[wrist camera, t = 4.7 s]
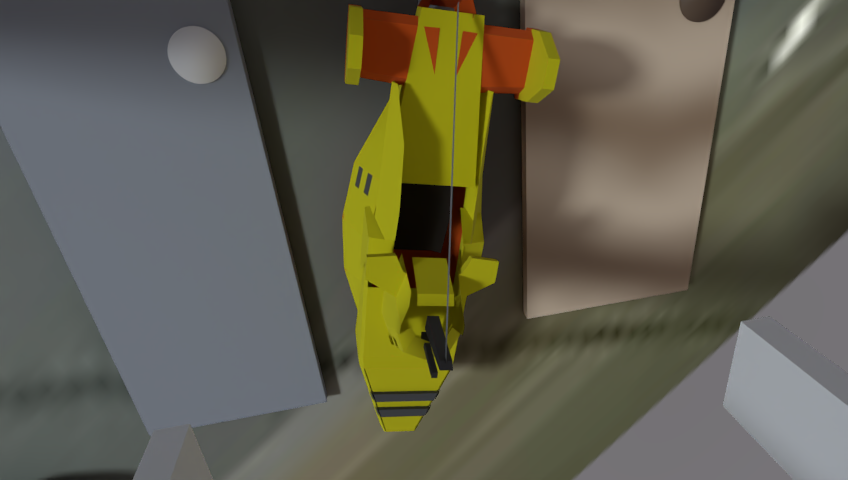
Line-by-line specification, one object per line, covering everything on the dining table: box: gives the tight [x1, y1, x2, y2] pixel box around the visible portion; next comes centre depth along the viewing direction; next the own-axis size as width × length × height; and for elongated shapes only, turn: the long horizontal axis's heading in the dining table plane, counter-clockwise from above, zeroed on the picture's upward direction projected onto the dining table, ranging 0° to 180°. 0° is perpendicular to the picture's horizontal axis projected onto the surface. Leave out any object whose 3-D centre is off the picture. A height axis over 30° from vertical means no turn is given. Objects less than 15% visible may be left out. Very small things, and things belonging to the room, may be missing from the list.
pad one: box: [0, 0, 327, 436], centre depth 22 cm, size 20×9×1 cm, turn 6°
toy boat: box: [342, 0, 560, 432], centre depth 19 cm, size 6×18×10 cm, turn 173°
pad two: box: [520, 0, 735, 319], centre depth 22 cm, size 20×9×1 cm, turn 6°
